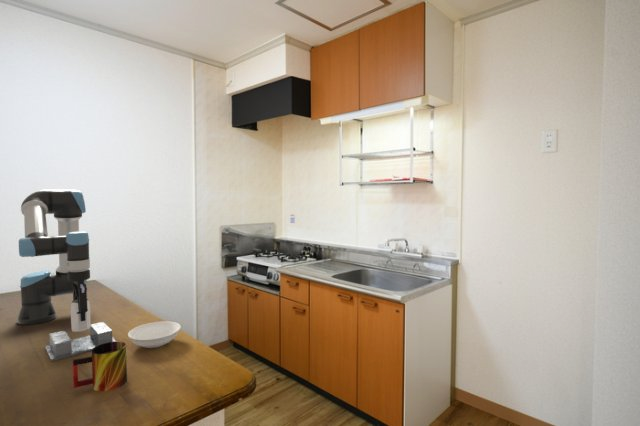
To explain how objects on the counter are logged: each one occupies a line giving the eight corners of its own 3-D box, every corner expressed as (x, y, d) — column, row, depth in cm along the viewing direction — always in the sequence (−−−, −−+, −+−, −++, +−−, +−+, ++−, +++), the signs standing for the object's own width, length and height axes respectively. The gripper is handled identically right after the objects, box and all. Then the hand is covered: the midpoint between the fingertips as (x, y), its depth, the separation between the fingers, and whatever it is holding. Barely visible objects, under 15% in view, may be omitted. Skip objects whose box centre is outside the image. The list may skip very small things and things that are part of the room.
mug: (72, 390, 111) (71, 353, 111) (118, 372, 122) (117, 339, 122) (85, 401, 106) (83, 362, 105) (132, 381, 117) (131, 346, 116)
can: (81, 333, 140) (79, 303, 139) (67, 332, 141) (66, 302, 141) (94, 327, 146) (93, 298, 146) (81, 326, 148) (80, 297, 147)
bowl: (191, 338, 151) (191, 324, 151) (156, 359, 133) (155, 342, 132) (154, 332, 158) (154, 318, 158) (116, 351, 139) (115, 335, 139)
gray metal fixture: (45, 348, 142) (44, 334, 142) (106, 333, 158) (106, 320, 157) (51, 361, 131) (50, 346, 131) (117, 343, 146) (116, 330, 146)
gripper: (63, 268, 147) (65, 322, 148) (72, 275, 133) (74, 335, 134) (84, 265, 152) (86, 318, 153) (95, 272, 138) (97, 329, 140)
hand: (80, 326), depth 144 cm, fingers closed on can, 6 cm apart
